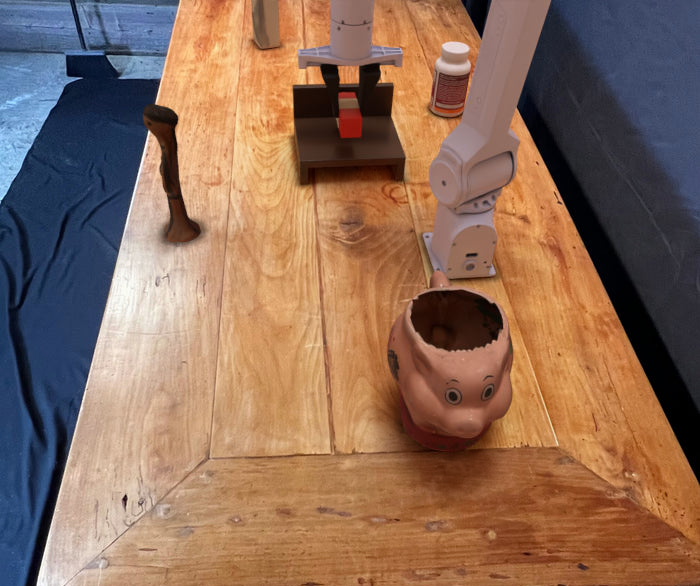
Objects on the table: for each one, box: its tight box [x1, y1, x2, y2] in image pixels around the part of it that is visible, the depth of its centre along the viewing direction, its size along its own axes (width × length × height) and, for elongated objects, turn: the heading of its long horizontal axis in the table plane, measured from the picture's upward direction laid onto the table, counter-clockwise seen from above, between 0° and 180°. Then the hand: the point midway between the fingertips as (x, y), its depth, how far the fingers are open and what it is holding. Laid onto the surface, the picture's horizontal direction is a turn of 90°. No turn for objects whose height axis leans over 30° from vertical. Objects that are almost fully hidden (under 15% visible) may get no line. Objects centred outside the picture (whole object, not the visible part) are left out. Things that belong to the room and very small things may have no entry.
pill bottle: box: [429, 41, 472, 118], centre depth 109 cm, size 6×6×11 cm
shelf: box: [291, 82, 407, 185], centre depth 97 cm, size 14×16×9 cm
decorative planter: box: [386, 270, 514, 452], centre depth 63 cm, size 20×12×14 cm, turn 10°
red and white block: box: [336, 92, 362, 138], centre depth 94 cm, size 9×3×3 cm, turn 8°
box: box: [250, 0, 281, 50], centre depth 125 cm, size 5×4×13 cm
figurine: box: [142, 102, 202, 243], centre depth 80 cm, size 7×5×18 cm
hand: (348, 114), depth 93 cm, fingers closed on red and white block, 3 cm apart
